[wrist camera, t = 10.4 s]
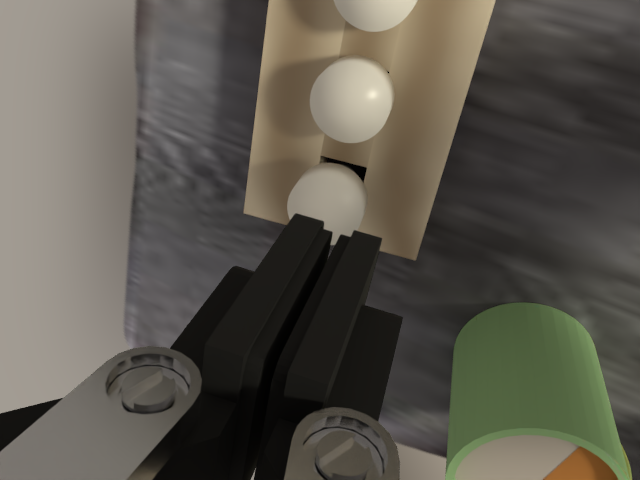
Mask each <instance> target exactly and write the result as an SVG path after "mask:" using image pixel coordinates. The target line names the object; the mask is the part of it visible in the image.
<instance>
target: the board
mask: <svg viewBox="0 0 640 480" xmlns="http://www.w3.org/2000/svg"><path fill="white" fill-rule="evenodd" d="M495 1H496V0H418V1H417V3H416V5H415V6H414V8H413V9H412V11H411V12H410V13H409V14H408V16H407V17H406V18H405V19H404V20H403V21H402V22H400V23H399V24H398V25H396V26H394V27H393V28H390V29H388V30H384V31H379V32H369V31H364V30H361V29H358V28H356V27H354V26H353V25H351V24H350V23H348V22H347V21H346V20H345V19H344V18H343V17H342V16H341V14H340V13H339V11H338V9H337V8H336V6H335V3H334V0H269V4H268V12H267V21H266V29H265V37H264V46H263V54H262V62H261V71H260V79H259V88H258V96H257V104H256V113H255V121H254V129H253V138H252V146H251V155H250V163H249V171H248V180H247V188H246V197H245V205H244V214H248V215H252V216H255V217H259V218H263V219H266V220H270V221H273V222H277V223H281V224H284V225H287V224H288V223H289V221H290V219H289V216H288V211H287V202H288V198H289V195H290V193H291V191H292V189H293V188H294V186H295V185H296V184H297V182H298V181H299V179H300V178H301V176H302V175H303V174H304V173H305V172H306V171H307V170H308V169H310V168H311V167H313V166H315V165H318V164H322V163H327V159H328V158H332V159H336V160H340V161H343V162H347V163H351V164H355V165H359V166H363V167H367V170H366V174H365V179H364V185H365V188H366V191H367V195H368V204H367V208H366V211H365V214H364V216H363V219H362V221H361V224H360V226H359V228H358V230H357V231H360V232H363V233H367V234H370V235H374V236H377V237H380V238H382V242H381V246H380V250H379V251H383V252H386V253H390V254H393V255H397V256H401V257H404V258H408V259H412V260H415V261H416V258H417V255H418V251H419V248H420V245H421V242H422V238H423V235H424V232H425V229H426V225H427V222H428V219H429V216H430V212H431V209H432V206H433V203H434V199H435V196H436V193H437V190H438V186H439V183H440V180H441V177H442V173H443V170H444V167H445V164H446V160H447V157H448V154H449V150H450V147H451V144H452V141H453V137H454V134H455V131H456V128H457V124H458V121H459V118H460V115H461V111H462V108H463V105H464V102H465V98H466V95H467V92H468V89H469V85H470V82H471V79H472V76H473V72H474V69H475V66H476V63H477V59H478V56H479V53H480V50H481V46H482V43H483V40H484V37H485V33H486V30H487V27H488V24H489V20H490V17H491V14H492V11H493V7H494V4H495ZM349 55H361V56H366V57H369V58H371V59H373V60H375V61H377V62H378V63H379V64H381V65H382V66H383V67H384V68H385V69H386V71H389V76H390V77H391V80H392V82H393V86H394V93H395V95H394V104H393V107H392V110H391V112H390V114H389V116H388V118H387V120H386V122H385V124H384V126H383V127H382V129H381V130H380V131H379V132H378V133H377V134H376V135H375V136H373V137H372V138H370V139H368V140H366V141H363V142H359V143H344V142H340V141H337V140H335V139H332V138H331V137H329V136H328V135H326V134H325V133H324V132H323V131H322V130H321V129H320V128H319V127H318V125H317V124H316V122H315V120H314V118H313V116H312V113H311V109H310V94H311V90H312V87H313V84H314V83H315V81H316V79H317V78H318V77H319V75H320V74H321V73H322V72H323V71H324V70H325V69H326V68H327V67H328V66H329V65H330V64H332V63H333V62H334V61H336V60H338V59H339V58H342V57H345V56H349Z"/></svg>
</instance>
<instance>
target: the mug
mask: <svg viewBox="0 0 640 480" xmlns="http://www.w3.org/2000/svg"><path fill="white" fill-rule="evenodd" d="M446 463H447V464H446V478H445V480H632V473H631V468H630V464H629V461H628V458H627V455H626V453H625V451H624V449H623V447H622V445H621V443H620V440H619V436H618V432H617V428H616V425H615V421H614V417H613V413H612V410H611V406H610V402H609V398H608V394H607V391H606V387H605V383H604V379H603V375H602V372H601V368H600V364H599V360H598V357H597V353H596V349H595V345H594V343H593V341H592V339H591V336H590V335H589V333H588V332H587V331H586V329H585V328H584V327H583V326H582V325H581V324H580V323H579V322H578V321H577V320H575V319H574V318H573V317H571V316H569V315H568V314H566V313H565V312H563V311H560V310H558V309H555V308H553V307H550V306H546V305H542V304H536V303H527V302H522V303H509V304H503V305H498V306H495V307H493V308H490V309H487V310H485V311H483V312H481V313H480V314H478V315H476V316H475V317H474V318H472V319H471V320H470V321H469V322H467V324H466V325H465V326H464V327H463V328H462V329H461V331H460V333H459V335H458V337H457V338H456V342H455V345H454V352H453V368H452V383H451V399H450V414H449V430H448V446H447V462H446Z"/></svg>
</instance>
